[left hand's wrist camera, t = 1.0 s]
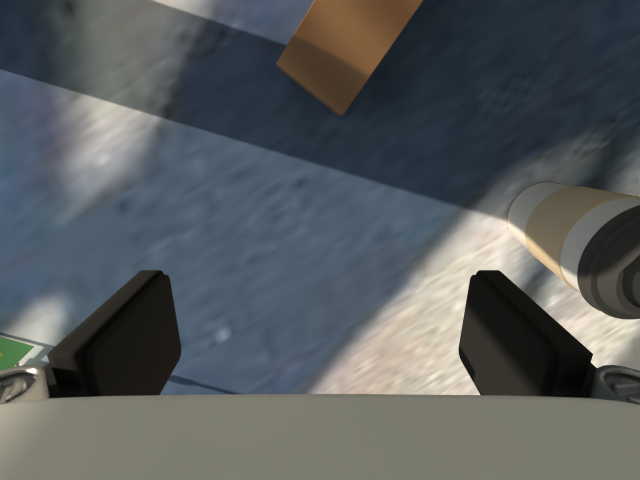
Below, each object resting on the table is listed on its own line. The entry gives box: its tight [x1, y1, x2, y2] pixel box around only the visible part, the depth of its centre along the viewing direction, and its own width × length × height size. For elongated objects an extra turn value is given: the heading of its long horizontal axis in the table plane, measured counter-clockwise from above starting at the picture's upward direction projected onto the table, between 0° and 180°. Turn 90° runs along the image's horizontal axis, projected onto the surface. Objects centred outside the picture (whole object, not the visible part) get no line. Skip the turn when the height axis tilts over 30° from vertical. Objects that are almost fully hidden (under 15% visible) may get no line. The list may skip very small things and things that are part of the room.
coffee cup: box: [507, 182, 640, 319], centre depth 30 cm, size 9×9×15 cm
